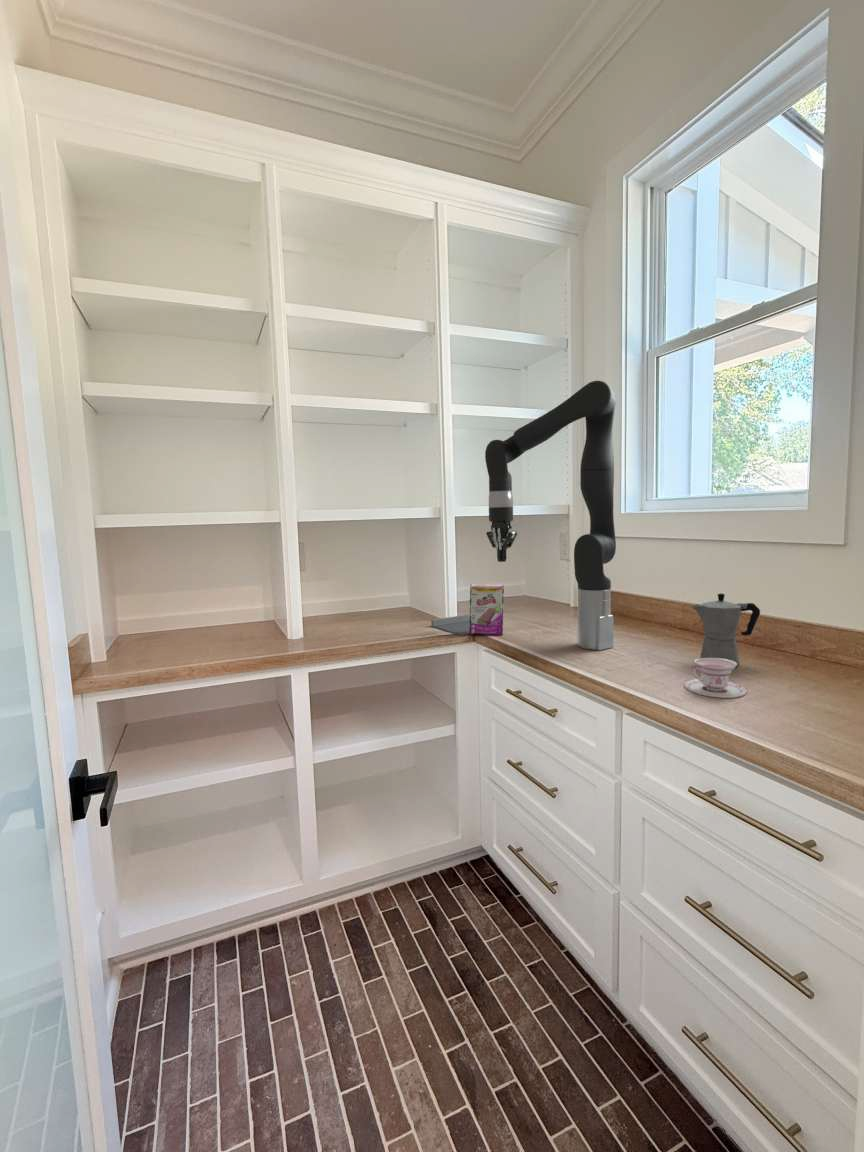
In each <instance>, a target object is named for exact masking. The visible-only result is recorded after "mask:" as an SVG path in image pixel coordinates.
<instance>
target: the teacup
mask: <svg viewBox="0 0 864 1152" xmlns="http://www.w3.org/2000/svg"><path fill="white" fill-rule="evenodd" d="M693 662H694V664H695V665H693V666H692V668H691V669H692V673H693V675H694V677H695V679H690V680H688V681H686V682H684V688H685V689H686V690H687V691H689V692H691V693H694V694H696V695H700V696H704V697H710V698H719V699H733V698H735V699H736V698H740V697H744V696H745V695H747V690H746V688H744V687H743V686H742V685H740V684H737V683H735V682H731V681H729V680H730V679H729V678H730V676H731V674H732V671H733V670H735V668H736V667H735V666H736V665H737V663H736V662H734V661H731V660H727V659H721V658H700V657H699V658H696V659H694V661H693ZM697 670H698V671H699V672H700V674H701V675H700V676H701V677H700V678H699V676H698V674H697V672H696V671H697ZM704 687H705V689H706V690H705V689H704ZM724 689H725V690H726V691H724V692H722V691H723V690H724Z"/></svg>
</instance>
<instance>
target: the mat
mask: <svg viewBox="0 0 864 1152" xmlns="http://www.w3.org/2000/svg"><path fill="white" fill-rule="evenodd" d="M430 622H431V628H434V629H438V630H441V631H445V632H448V633H450V634H454V635H457V636H459V637H464V636H470V635H471V634H470V614H462V615H455V616H449V617H441V618H436V619H431V621H430Z"/></svg>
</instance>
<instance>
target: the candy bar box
mask: <svg viewBox="0 0 864 1152" xmlns="http://www.w3.org/2000/svg"><path fill="white" fill-rule="evenodd" d="M504 587H505V586H504V584H486V583H485V584H484V583H483V584H482V583H471V584H470V588H469V615H470V635H477V636H478V635H479V636H480V635H487V636H503V631H504V630H503V629H504V628H503V626H504V597H505V596H504V593H505V588H504Z"/></svg>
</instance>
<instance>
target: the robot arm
mask: <svg viewBox="0 0 864 1152" xmlns="http://www.w3.org/2000/svg"><path fill="white" fill-rule="evenodd" d="M616 403H617V401H616V394H615V392H614V390H613V389H612V387H611V386H610V385H609V384H608V383H606V382H605V381H602V380H593V381H591V382H588V383H587V384H585V385H584V386H583V387H581V388H580V389H579V390H578V391H576V392H575V393H573V394H572V395H571V396H570V397H569V398H567V399H565V400H564V401H563V402H562V403H560V404H558V405H557V406H556V407H554V408H553V409H550V410H549V411H547V412H546V413H544V414H542V415H540V416H539V417H538V418H537V417H536V418H535V419H533V420H532V421H530V422H528V423H526V424H525V425H523V426H521V427H520V428H518V429H516V430H515V431H514V432H513V435H512V436H510V437H508V438H507V439H505V440H501V439H493V440H491V441H489V443H488V444H487V446H486V447H485V452H484V453H485V454H484V455H485V456H484V457H485V458H484V459H485V465H486V469H487V470H486V471H487V475H488V521H489V522H491V525H490V530H489V531H487V532H486V536H487V539H488V541H489V543H490V544H491V545H490V546H491V547H492V548H494V549H496V558H497V562H500V563H503V562H504V563H505V562H507V550H508V549H510V548H511V547H512V546H513V543H514V541H515V540H516V537H517V535H518V532H517V531H515V530H513V528H512V527H513V526H512V523H511V522H513V520H514V497H513V496H514V495H513V485H512V482H513V480H512V475H511V473H510V472H509V469H508V464H510V463H511V462H513V461H515V460H516V459H518V458H520V456H522V455H523V454H524V453H526V452H527V451H529V450H531V449H533V448H535V447H537V446H539V445H540V444H543V443H544V442H546V441H547V440H549V439H550V438H552V437H553V436H555V435H556V434H557V433H558V432H560V431H561V430H562V429H564V428H565V427H567V426H569V425H571V424H572V423H574V422H577V421H579V420H580V419H584V418H585V429H586V430H585V432H586V433H585V434H586V435H585V441H584V442H585V443H584V447H583V451H582V455H581V460H580V461H581V462H580V470H579V471H580V473H579V474H580V475H579V477H580V484H579V485H580V492H581V494H582V498H583V500H584V503H585V505H586V507H587V511H588V515H589V520H590V522H589V524H590V525H589V527H590V528H589V533H586V534H583V535H581V536H580V537H579V538H577V540H576V542H575V544H574V549H573V559H574V560H573V563H574V566H573V567H574V578H575V581H576V582H577V646H578V647H579V648H582V649H586V650H596V651H601V650H608V649H610V648H614V621H615V620H614V615H613V614H611V613H612V612H611V609H612V608H611V607H612V605H611V603H612V602H611V601H612V600H611V599H612V595H611V594H612V592H611V591H612V589H611V588H612V583H611V582H612V581H611V579H610V578H609V577H607V576H606V575H605V573H604V571H605V570H604V565H605V564H608V563H610V562H611V561H612V560H613V559H614V557H615V555H616V551H617V550H616V549H617V543H616V542H617V541H616V531H615V522H614V487H615V483H614V482H615V459H614V458H615V456H614V443H613V431H614V430H613V428H614V427H613V426H614V419H615V410H616V405H617V404H616Z"/></svg>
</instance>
